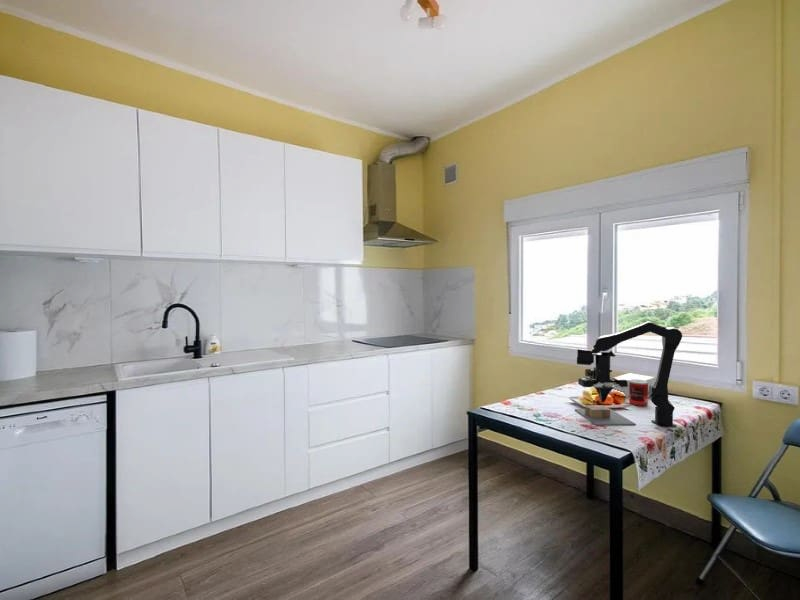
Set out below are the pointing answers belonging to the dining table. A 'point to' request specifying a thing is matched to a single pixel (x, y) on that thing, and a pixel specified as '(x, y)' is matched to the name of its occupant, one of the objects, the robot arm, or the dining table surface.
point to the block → (597, 411)
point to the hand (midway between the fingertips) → (602, 402)
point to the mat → (607, 419)
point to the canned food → (638, 392)
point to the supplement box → (629, 377)
